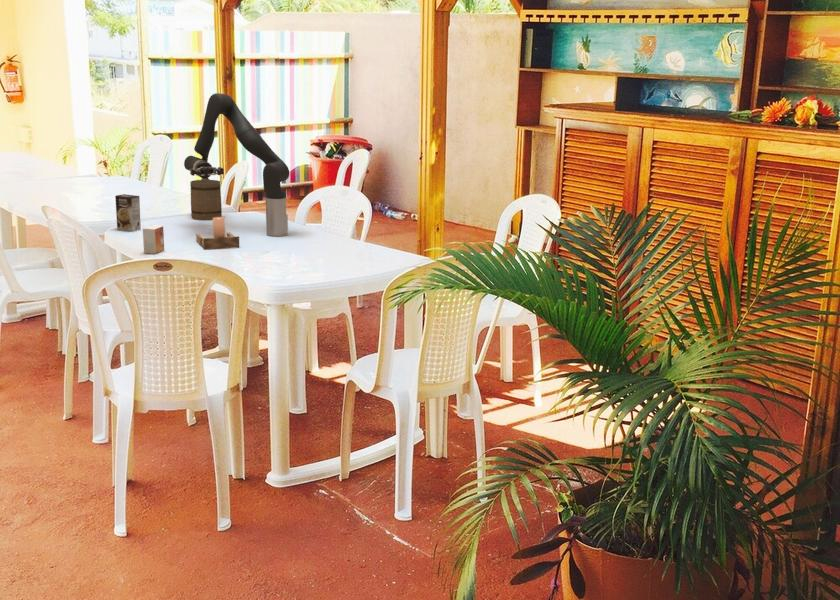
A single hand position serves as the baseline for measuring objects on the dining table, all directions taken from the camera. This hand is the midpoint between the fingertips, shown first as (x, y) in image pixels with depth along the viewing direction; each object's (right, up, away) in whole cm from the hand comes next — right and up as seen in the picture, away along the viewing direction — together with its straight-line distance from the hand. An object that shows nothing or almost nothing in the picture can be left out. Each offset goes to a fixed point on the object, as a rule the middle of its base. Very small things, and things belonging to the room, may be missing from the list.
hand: (210, 173), depth 416 cm
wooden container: (-14, -15, +58) cm, 61 cm away
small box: (-19, -36, -19) cm, 45 cm away
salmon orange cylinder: (+6, -32, -6) cm, 33 cm away
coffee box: (-43, -23, +24) cm, 54 cm away
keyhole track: (+4, -31, -2) cm, 32 cm away
